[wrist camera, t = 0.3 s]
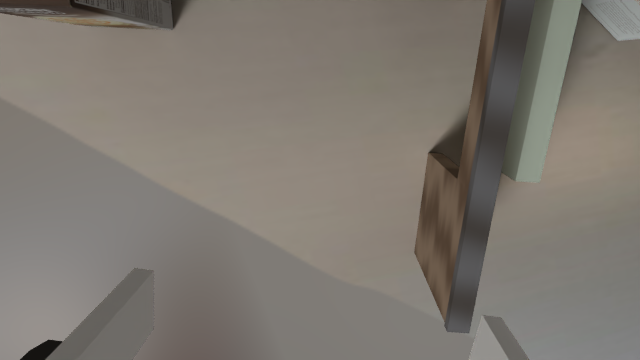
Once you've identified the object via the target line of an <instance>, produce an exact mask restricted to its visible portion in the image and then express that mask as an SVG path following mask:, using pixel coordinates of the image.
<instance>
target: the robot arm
mask: <svg viewBox="0 0 640 360" xmlns="http://www.w3.org/2000/svg"><path fill="white" fill-rule="evenodd" d="M153 329H154V271H153V270H145V269H138V268H134V269H133V270H132V271H131V272H130V274H128V276H127V277H126V278H125V279H124V280H123V281H122V282H121V283H120V284H119V285H118V286H117V287H116V288H115V289H114V290H113V291H112V292H111V293H110V294H109V295H108V296H107V297H106V298H105V299H104V300H103V301H102V302H101V303H100V304H99V305H98V306H97V307H96V308H95V309H94V310H93V311H92V312H91V313H90V314H89V315H88V316H87V317H86V319H85V320H84V321H83V322H82V323H81V324H80V325H79V326H78V327H77V328H76V329H75V330H74V331H73V332H72V333H71V334H70V335H69V336H68V337H67V338H66V339H65V340H64V341H63V342H62V341H55V340H47V341H46V342H44V343H42V344H40V345H39V346H37V347H35V348H33V349H32V350H30V351H29V352H28V353H27V354H26V355H24V356H23V357H22V358H21V359H20V360H133V359H134V357H135V356H136V354H137V353H138V351H139V350H140V348H141V347H142V345H143V344H144V342H145V341H146V339H147V338H148V336H149V335H150V334H151V332H152V331H153ZM469 360H529V358H528V357H527V355H526V354H525V352H524V351H523V349H522V348H521V346H520V345H519V343H518V342H517V340H516V339H515V337H514V336H513V334H512V333H511V331H510V330H509V328H508V327H507V325H506V324H505V322H504V321H503V319H502V318H500V317H493V316H486V315H482V318H481V321H480V324H479V327H478V331H477V334H476V337H475V340H474V344H473V347H472V351H471V354H470V357H469Z"/></svg>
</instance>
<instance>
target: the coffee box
mask: <svg viewBox="0 0 640 360" xmlns="http://www.w3.org/2000/svg"><path fill="white" fill-rule="evenodd" d="M0 13H4V14H10V15H16V16H24V17H30V18H36V19H43V20H49V21H56V22H62V23H69V24H74V25H82V26H95V27H117V28H136V29H156V30H173V19H172V8H171V0H0Z"/></svg>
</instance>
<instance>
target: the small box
mask: <svg viewBox="0 0 640 360" xmlns="http://www.w3.org/2000/svg"><path fill="white" fill-rule="evenodd" d="M581 3H582V4H583V5H584V6H585V7H586V8H587V9H588V10H589V11H590V12H591V13H592V14H593V16H594V17H595V18H596V19H597V20H598V21H599V22H600V23H601V24H602V25H603V26H604V27H605V28H606V29H607V30H608V31H609V32H610V33H611V34H612V35H613V36H614V37H615V38H616V39H617V40H618V41H622V40H632V39H640V0H582V2H581Z"/></svg>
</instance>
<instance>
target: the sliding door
mask: <svg viewBox="0 0 640 360" xmlns="http://www.w3.org/2000/svg"><path fill="white" fill-rule="evenodd" d="M581 2H582V0H535V5H534V10H533V15H532V20H531V25H530V30H529V35H528V40H527V45H526V50H525V55H524V60H523V65H522V70H521V75H520V80H519V85H518V90H517V95H516V100H515V105H514V110H513V115H512V121H511V126H510V131H509V136H508V141H507V146H506V151H505V156H504V161H503V166H502V171H501V172H502V173H503V174H505V175H507V176H508V177H510V178H511V179H513V180H514V181H521V182H538V183H540V179H541V174H542V170H543V166H544V161H545V157H546V153H547V148H548V144H549V140H550V136H551V131H552V127H553V123H554V118H555V114H556V110H557V105H558V101H559V97H560V92H561V88H562V84H563V80H564V75H565V71H566V67H567V62H568V58H569V54H570V49H571V45H572V41H573V39H574V35H575V30H576V26H577V25H576V24H577V19H578V15H579V11H580V6H581Z"/></svg>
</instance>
